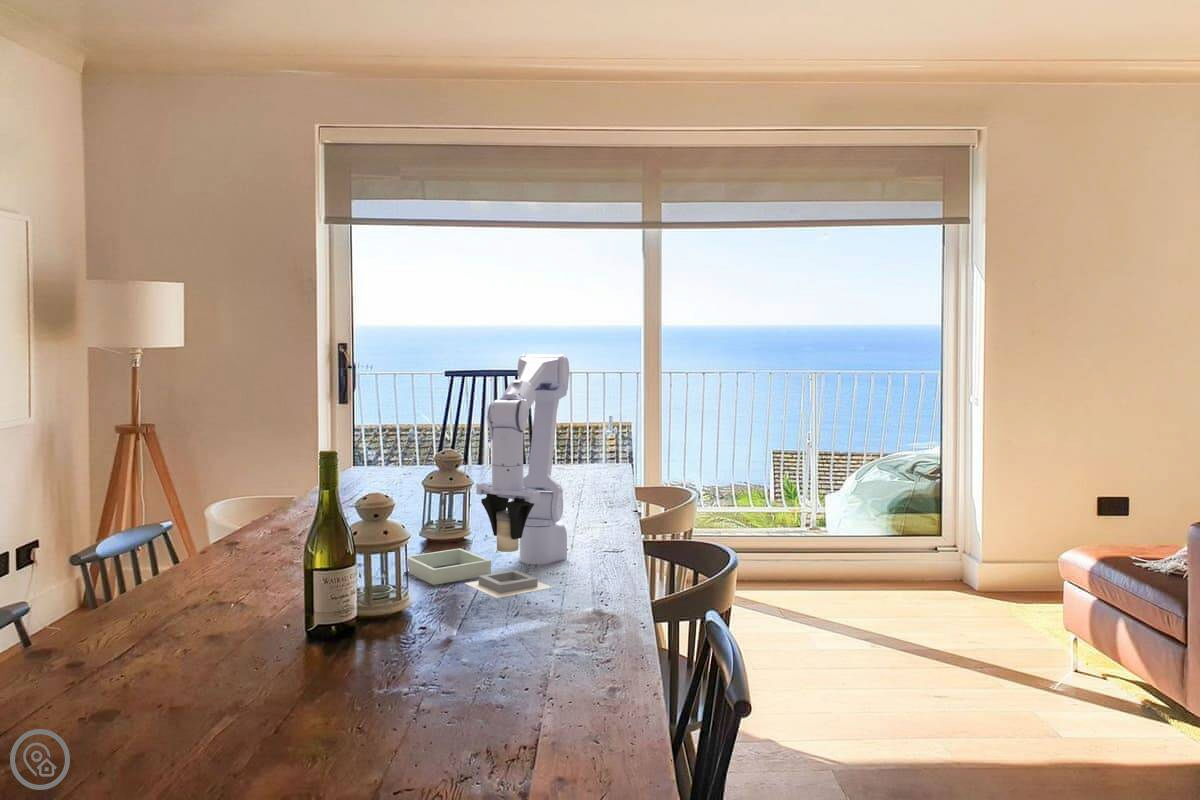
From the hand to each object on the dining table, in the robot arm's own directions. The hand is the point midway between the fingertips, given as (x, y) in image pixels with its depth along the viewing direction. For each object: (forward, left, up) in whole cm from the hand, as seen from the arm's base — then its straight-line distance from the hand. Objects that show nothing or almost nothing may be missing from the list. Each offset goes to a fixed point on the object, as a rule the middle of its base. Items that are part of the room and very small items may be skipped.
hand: (507, 536), depth 174 cm
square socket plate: (0, 0, -10) cm, 10 cm away
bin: (+5, -14, -10) cm, 18 cm away
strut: (0, 0, -2) cm, 2 cm away
